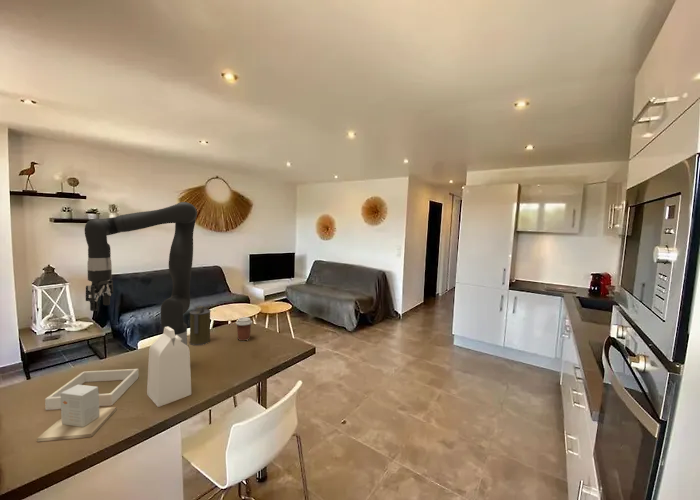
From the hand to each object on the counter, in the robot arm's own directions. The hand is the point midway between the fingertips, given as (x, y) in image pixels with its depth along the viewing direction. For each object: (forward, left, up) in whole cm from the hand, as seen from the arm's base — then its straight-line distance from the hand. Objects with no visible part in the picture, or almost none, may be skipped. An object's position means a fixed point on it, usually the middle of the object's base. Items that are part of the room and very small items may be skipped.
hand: (100, 307), depth 124 cm
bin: (-4, +11, -30) cm, 32 cm away
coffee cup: (-51, -40, -30) cm, 72 cm away
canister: (-28, -38, -30) cm, 56 cm away
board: (-10, +31, -30) cm, 44 cm away
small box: (-10, +31, -29) cm, 44 cm away
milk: (-31, +16, -30) cm, 46 cm away
